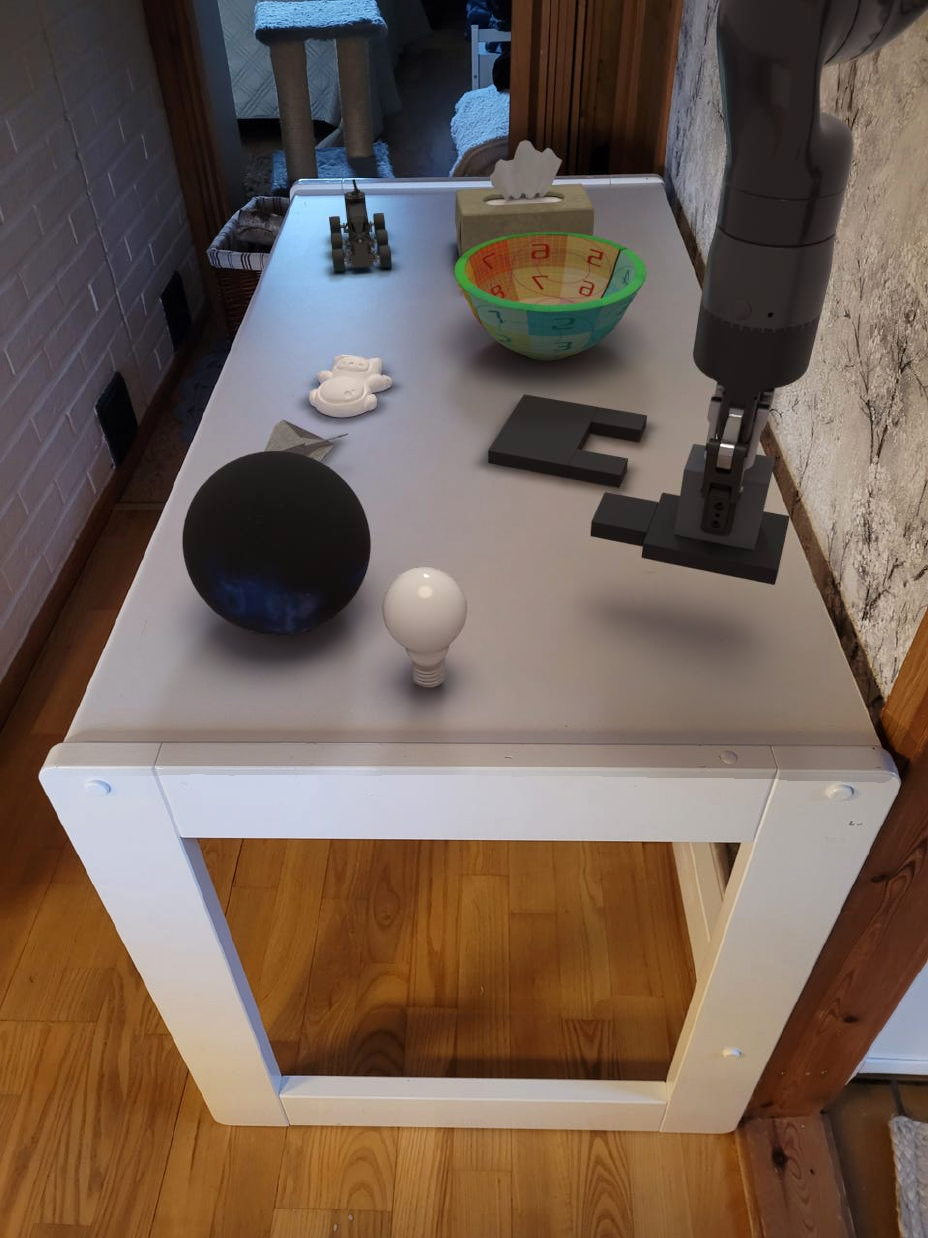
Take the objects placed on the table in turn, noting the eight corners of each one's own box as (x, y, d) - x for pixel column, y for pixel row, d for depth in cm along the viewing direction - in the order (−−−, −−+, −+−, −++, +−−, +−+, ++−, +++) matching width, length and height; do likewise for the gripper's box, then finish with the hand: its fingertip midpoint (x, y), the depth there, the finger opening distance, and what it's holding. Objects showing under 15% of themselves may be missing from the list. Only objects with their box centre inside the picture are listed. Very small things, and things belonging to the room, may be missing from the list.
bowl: (492, 407, 107) (492, 323, 101) (433, 322, 123) (429, 245, 116) (670, 371, 112) (681, 290, 106) (591, 295, 128) (597, 219, 121)
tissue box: (460, 272, 134) (457, 153, 123) (455, 245, 141) (451, 130, 130) (592, 265, 135) (601, 146, 124) (580, 238, 142) (587, 123, 131)
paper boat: (271, 428, 103) (351, 403, 102) (289, 486, 104) (369, 462, 103) (234, 428, 91) (323, 400, 90) (255, 493, 92) (344, 466, 91)
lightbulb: (448, 643, 80) (444, 540, 72) (482, 693, 75) (481, 589, 68) (378, 668, 78) (366, 564, 70) (408, 721, 74) (398, 617, 66)
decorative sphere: (381, 554, 89) (366, 412, 78) (373, 670, 78) (355, 523, 67) (219, 558, 89) (183, 417, 78) (188, 675, 78) (142, 529, 67)
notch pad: (645, 426, 104) (647, 414, 103) (619, 487, 96) (620, 475, 95) (523, 405, 107) (523, 393, 106) (488, 462, 99) (487, 450, 98)
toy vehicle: (384, 231, 146) (380, 171, 140) (392, 271, 135) (387, 208, 129) (331, 235, 145) (324, 175, 139) (334, 276, 134) (327, 212, 128)
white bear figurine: (403, 371, 114) (401, 347, 112) (366, 422, 106) (363, 398, 104) (336, 361, 116) (333, 338, 114) (294, 411, 108) (290, 387, 106)
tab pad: (786, 530, 75) (806, 449, 70) (774, 585, 70) (795, 502, 65) (607, 497, 79) (614, 417, 74) (585, 547, 74) (591, 465, 69)
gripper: (811, 356, 55) (757, 584, 66) (833, 261, 64) (782, 474, 76) (680, 338, 57) (650, 562, 68) (721, 248, 66) (688, 458, 78)
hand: (720, 514), depth 72 cm, fingers closed on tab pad, 3 cm apart
